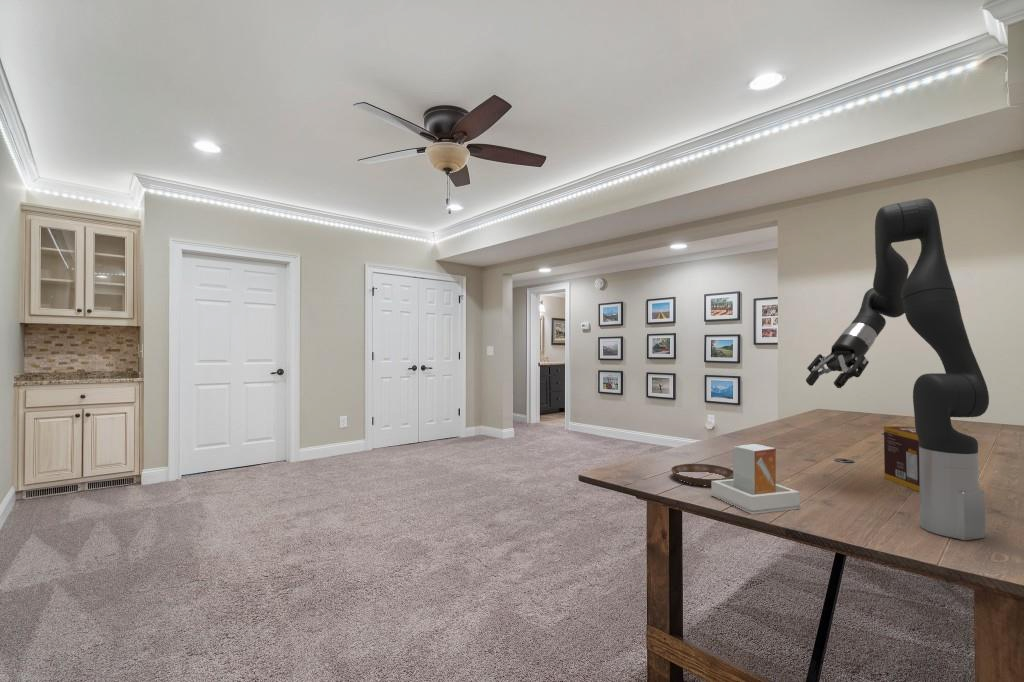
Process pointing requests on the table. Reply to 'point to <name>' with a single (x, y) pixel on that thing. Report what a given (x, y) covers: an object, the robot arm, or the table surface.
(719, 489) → the grey basin
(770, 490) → the small box
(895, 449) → the supplement box
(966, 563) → the table surface
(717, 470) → the brown round ring
